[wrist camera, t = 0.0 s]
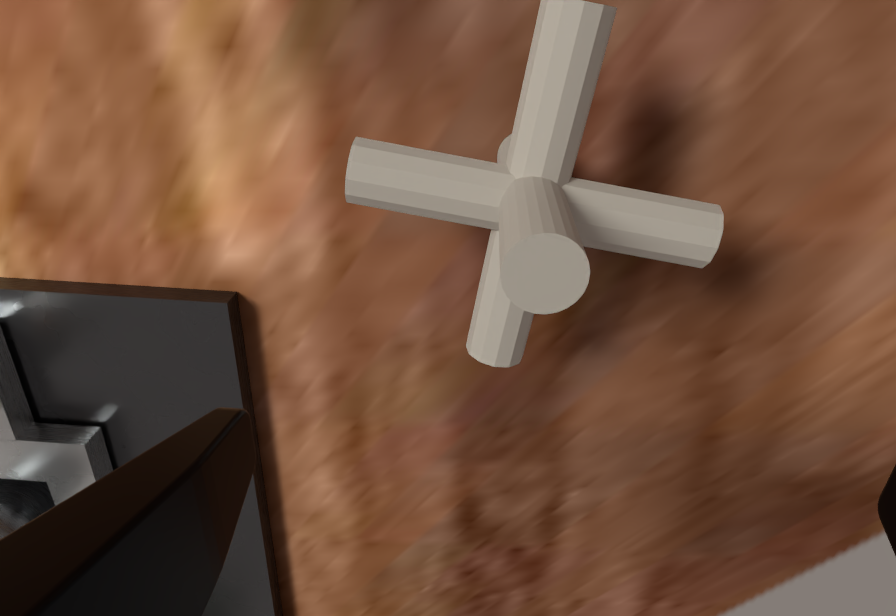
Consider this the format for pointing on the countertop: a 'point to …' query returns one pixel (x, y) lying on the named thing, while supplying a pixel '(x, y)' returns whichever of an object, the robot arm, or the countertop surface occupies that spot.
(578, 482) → the countertop surface
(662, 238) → the pipe connector
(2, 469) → the metal knob latch
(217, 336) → the post base
